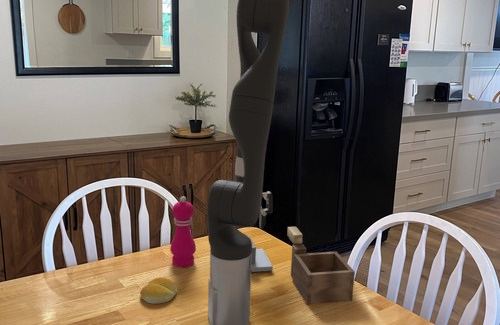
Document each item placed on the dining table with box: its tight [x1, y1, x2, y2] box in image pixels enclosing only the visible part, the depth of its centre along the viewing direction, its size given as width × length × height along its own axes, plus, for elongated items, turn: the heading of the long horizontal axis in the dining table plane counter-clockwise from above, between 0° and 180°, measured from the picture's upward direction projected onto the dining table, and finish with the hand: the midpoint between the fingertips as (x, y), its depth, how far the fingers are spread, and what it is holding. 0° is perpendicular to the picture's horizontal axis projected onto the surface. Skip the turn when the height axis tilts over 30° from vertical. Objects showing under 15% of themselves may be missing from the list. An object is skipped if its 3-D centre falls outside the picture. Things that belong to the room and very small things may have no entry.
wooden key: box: [286, 226, 303, 245], centre depth 137 cm, size 2×6×2 cm, turn 12°
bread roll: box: [139, 277, 178, 305], centre depth 123 cm, size 8×9×4 cm
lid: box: [248, 236, 274, 273], centre depth 141 cm, size 12×12×7 cm
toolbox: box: [290, 243, 356, 306], centre depth 129 cm, size 12×15×9 cm
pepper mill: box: [170, 195, 197, 268], centre depth 140 cm, size 7×7×20 cm
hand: (246, 228), depth 139 cm, fingers open, 8 cm apart
